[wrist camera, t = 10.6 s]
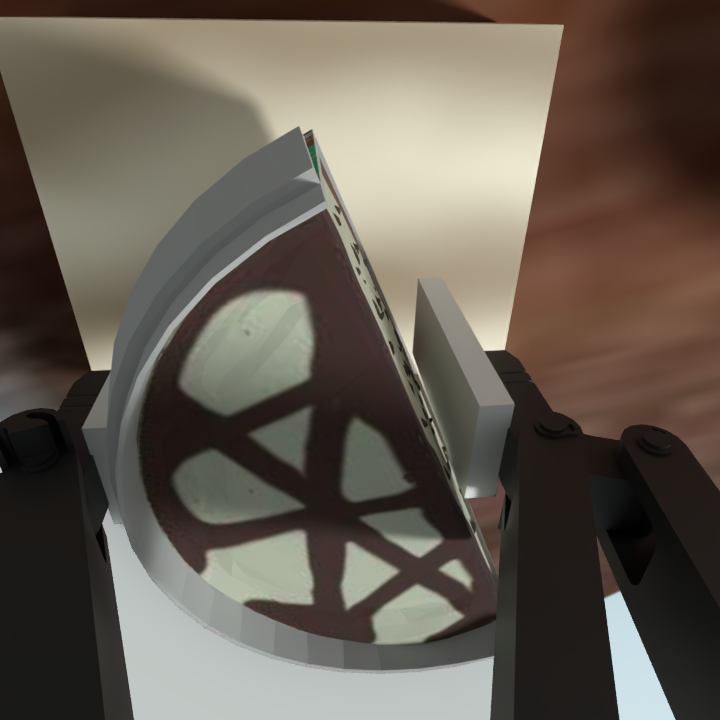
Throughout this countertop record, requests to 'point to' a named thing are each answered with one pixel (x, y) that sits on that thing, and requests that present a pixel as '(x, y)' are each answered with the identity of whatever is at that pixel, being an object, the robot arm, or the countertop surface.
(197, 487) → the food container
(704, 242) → the countertop surface
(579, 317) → the countertop surface
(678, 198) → the countertop surface
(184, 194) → the ash block
